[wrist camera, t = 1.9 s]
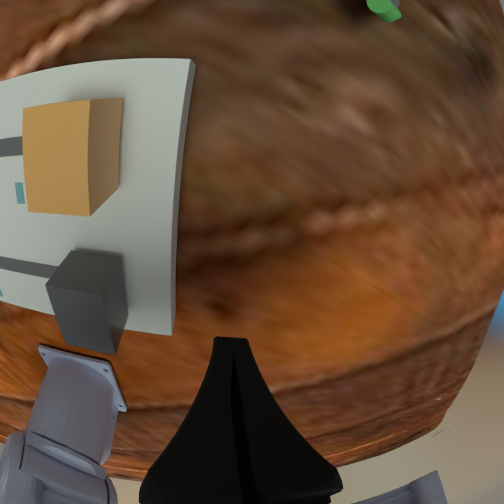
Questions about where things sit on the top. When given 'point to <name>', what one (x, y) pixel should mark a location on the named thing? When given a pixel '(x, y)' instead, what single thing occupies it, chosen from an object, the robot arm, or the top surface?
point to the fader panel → (119, 203)
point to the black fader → (89, 300)
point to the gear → (385, 9)
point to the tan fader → (71, 155)
